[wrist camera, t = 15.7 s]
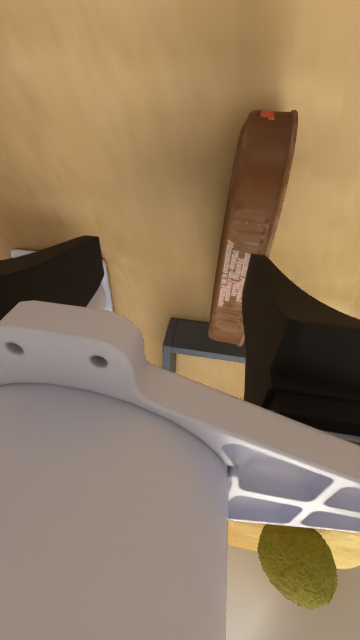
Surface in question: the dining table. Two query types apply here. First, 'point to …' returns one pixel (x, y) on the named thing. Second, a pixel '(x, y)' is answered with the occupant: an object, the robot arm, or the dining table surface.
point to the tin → (251, 213)
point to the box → (196, 344)
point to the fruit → (298, 564)
